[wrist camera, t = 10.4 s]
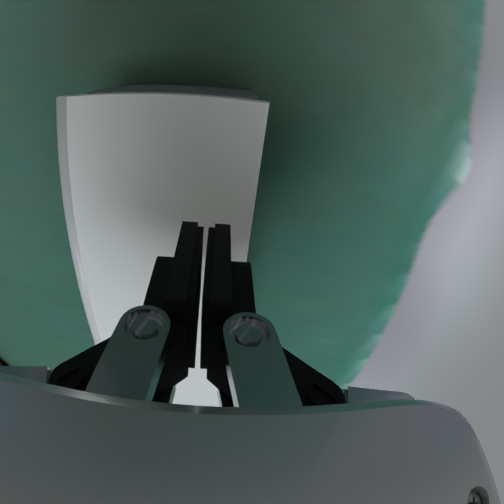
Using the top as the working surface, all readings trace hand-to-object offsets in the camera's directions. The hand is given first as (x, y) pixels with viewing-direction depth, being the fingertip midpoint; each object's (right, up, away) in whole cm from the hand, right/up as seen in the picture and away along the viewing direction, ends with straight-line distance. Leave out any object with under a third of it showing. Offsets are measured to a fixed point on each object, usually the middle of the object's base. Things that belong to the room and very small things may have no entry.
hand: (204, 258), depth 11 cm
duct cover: (-4, -4, +6) cm, 8 cm away
